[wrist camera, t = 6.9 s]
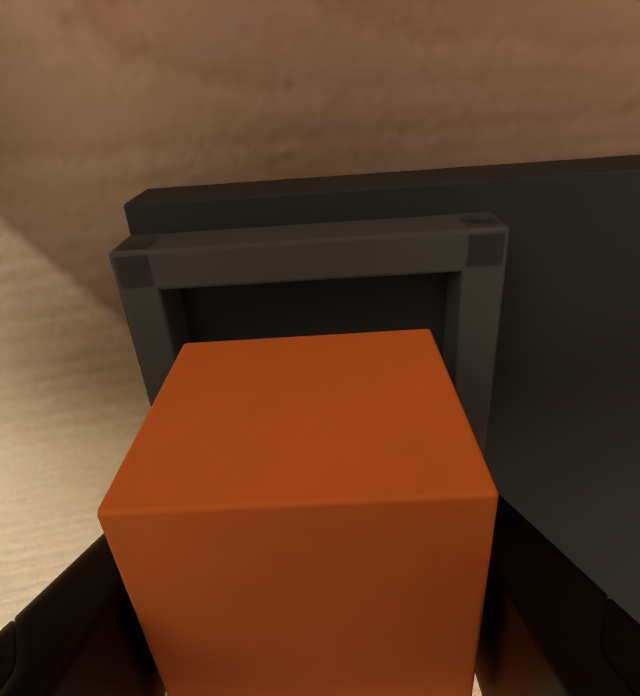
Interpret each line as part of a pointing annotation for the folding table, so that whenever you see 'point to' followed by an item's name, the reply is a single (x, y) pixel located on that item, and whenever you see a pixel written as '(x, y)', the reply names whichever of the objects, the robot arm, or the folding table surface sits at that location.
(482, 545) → the orange block
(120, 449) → the folding table surface
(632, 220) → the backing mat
